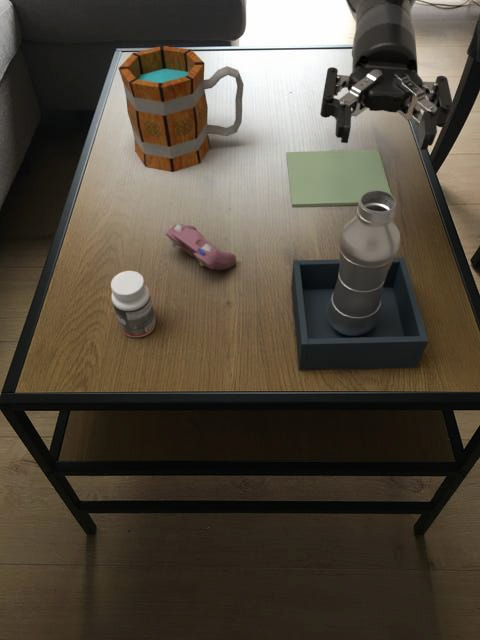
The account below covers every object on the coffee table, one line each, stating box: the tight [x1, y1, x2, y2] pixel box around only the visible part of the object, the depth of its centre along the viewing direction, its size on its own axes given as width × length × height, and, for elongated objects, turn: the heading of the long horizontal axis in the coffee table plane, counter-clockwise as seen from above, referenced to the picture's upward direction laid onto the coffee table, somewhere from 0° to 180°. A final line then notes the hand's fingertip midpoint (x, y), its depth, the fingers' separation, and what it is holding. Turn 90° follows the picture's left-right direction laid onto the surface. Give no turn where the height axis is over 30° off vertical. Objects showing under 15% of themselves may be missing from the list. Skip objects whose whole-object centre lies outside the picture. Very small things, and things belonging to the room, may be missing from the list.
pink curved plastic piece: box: [165, 222, 237, 270], centre depth 77 cm, size 10×5×7 cm, turn 45°
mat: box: [285, 149, 392, 208], centre depth 90 cm, size 16×14×1 cm
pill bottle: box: [110, 270, 157, 338], centre depth 68 cm, size 5×5×8 cm
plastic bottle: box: [327, 190, 401, 336], centre depth 62 cm, size 6×7×20 cm
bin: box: [290, 257, 429, 371], centre depth 68 cm, size 15×14×6 cm
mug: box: [118, 45, 245, 173], centre depth 90 cm, size 20×14×15 cm
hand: (385, 140), depth 58 cm, fingers open, 8 cm apart
